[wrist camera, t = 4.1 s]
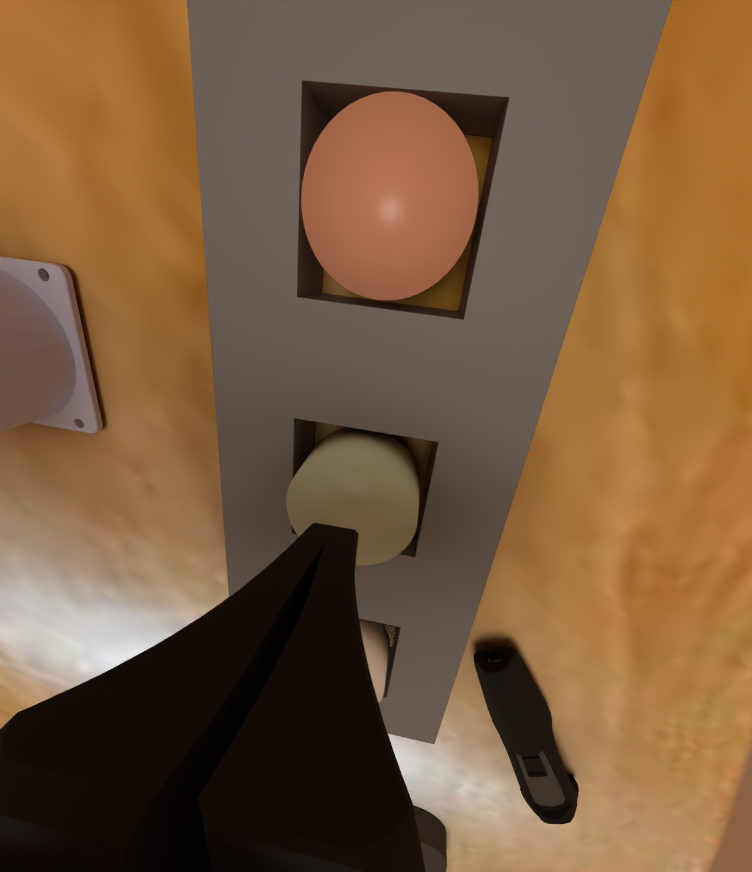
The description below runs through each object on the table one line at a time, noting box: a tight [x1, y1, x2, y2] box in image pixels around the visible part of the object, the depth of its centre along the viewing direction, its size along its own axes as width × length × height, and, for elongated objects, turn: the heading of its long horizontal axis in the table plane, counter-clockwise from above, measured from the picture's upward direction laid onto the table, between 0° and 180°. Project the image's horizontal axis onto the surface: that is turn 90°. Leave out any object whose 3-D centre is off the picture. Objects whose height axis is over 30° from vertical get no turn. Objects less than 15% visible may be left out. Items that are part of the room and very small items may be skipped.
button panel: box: [187, 0, 672, 744], centre depth 16 cm, size 12×32×3 cm, turn 173°
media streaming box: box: [413, 806, 447, 872], centre depth 32 cm, size 15×15×3 cm
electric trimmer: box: [474, 647, 579, 824], centre depth 23 cm, size 4×16×3 cm, turn 22°
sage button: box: [286, 428, 420, 566], centre depth 15 cm, size 5×5×2 cm
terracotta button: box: [301, 92, 478, 301], centre depth 11 cm, size 5×5×2 cm
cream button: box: [359, 619, 390, 703], centre depth 19 cm, size 5×5×2 cm
